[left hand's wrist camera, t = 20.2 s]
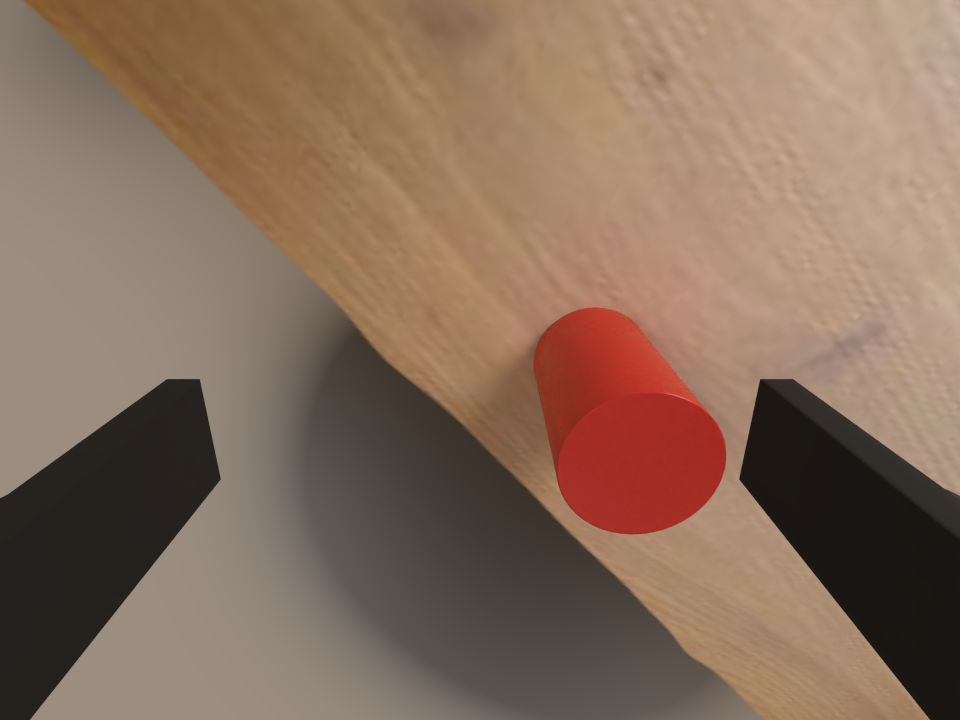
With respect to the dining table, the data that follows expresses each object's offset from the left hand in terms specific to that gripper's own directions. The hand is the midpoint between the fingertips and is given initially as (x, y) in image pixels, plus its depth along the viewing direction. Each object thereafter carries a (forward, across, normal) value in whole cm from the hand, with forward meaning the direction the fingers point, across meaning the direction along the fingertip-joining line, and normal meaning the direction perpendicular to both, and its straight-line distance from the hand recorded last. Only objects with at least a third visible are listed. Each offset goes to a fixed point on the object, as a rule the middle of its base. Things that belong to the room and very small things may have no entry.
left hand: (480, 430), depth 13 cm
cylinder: (+18, +7, -6) cm, 20 cm away
